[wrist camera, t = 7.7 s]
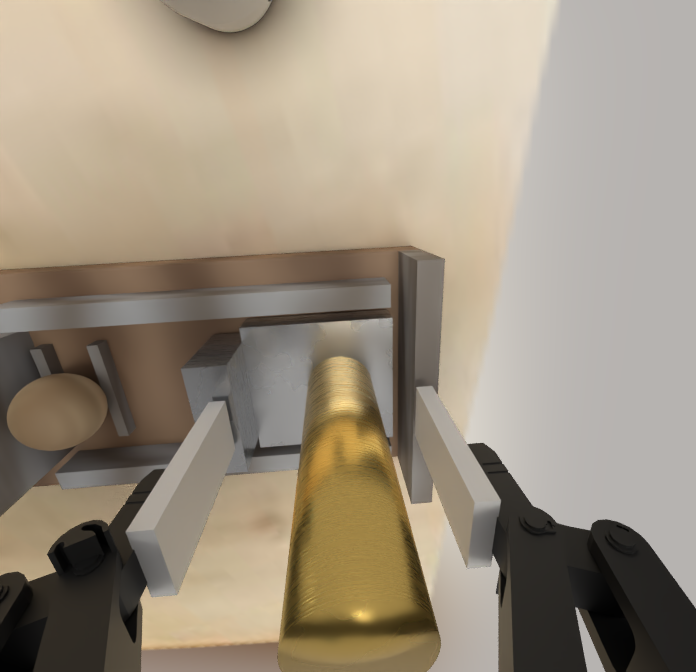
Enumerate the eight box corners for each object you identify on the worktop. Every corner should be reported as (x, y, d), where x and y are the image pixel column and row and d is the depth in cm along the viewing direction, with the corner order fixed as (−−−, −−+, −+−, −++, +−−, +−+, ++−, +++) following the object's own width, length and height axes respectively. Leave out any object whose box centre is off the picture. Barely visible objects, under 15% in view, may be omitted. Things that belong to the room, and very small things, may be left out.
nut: (64, 422, 20) (3, 471, 16) (38, 363, 18) (-35, 401, 15) (131, 417, 20) (86, 464, 16) (111, 358, 19) (56, 395, 15)
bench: (54, 465, 24) (-72, 581, 16) (-36, 272, 19) (-277, 311, 11) (407, 436, 25) (443, 533, 17) (411, 246, 20) (462, 265, 12)
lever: (233, 433, 21) (90, 771, 8) (210, 321, 18) (-57, 566, 6) (388, 421, 21) (478, 726, 9) (387, 309, 19) (516, 514, 6)
